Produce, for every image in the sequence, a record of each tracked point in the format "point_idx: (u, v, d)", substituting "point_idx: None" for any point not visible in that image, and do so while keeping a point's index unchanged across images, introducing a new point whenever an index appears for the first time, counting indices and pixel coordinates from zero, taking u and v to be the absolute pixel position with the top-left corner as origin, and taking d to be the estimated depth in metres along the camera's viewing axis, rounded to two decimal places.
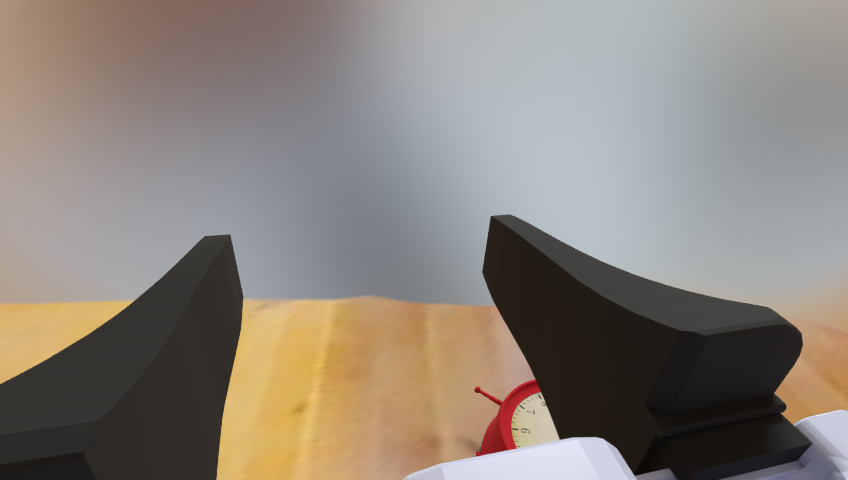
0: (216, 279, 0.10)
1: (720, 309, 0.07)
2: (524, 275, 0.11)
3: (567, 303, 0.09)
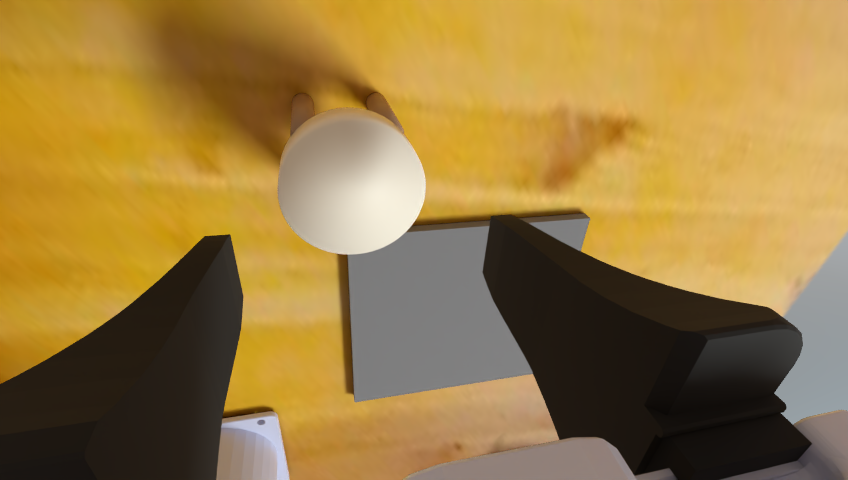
0: (216, 279, 0.10)
1: (720, 309, 0.07)
2: (524, 275, 0.11)
3: (567, 303, 0.09)
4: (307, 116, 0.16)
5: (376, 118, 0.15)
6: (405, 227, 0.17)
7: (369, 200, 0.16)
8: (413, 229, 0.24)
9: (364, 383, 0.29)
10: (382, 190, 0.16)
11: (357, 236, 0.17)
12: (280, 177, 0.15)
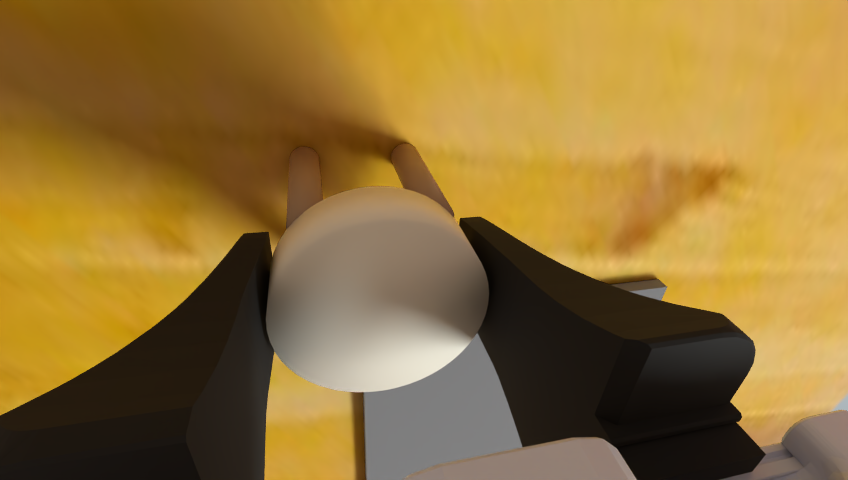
0: (260, 275, 0.10)
1: (672, 315, 0.07)
2: (489, 279, 0.11)
3: (527, 308, 0.09)
4: (311, 194, 0.11)
5: (418, 206, 0.10)
6: (454, 352, 0.12)
7: (405, 323, 0.11)
8: None
9: None
10: (425, 309, 0.11)
11: (385, 369, 0.11)
12: (270, 303, 0.09)
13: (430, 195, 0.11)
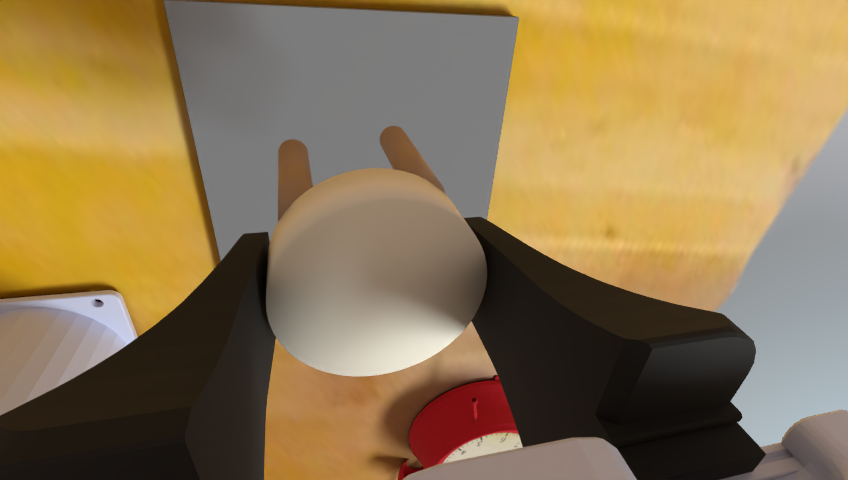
0: (260, 275, 0.10)
1: (673, 315, 0.07)
2: (490, 279, 0.11)
3: (527, 308, 0.09)
4: (300, 184, 0.11)
5: (406, 184, 0.10)
6: (459, 328, 0.12)
7: (406, 303, 0.11)
8: (266, 5, 0.17)
9: None
10: (424, 287, 0.11)
11: (392, 350, 0.11)
12: (268, 295, 0.09)
13: (419, 173, 0.11)
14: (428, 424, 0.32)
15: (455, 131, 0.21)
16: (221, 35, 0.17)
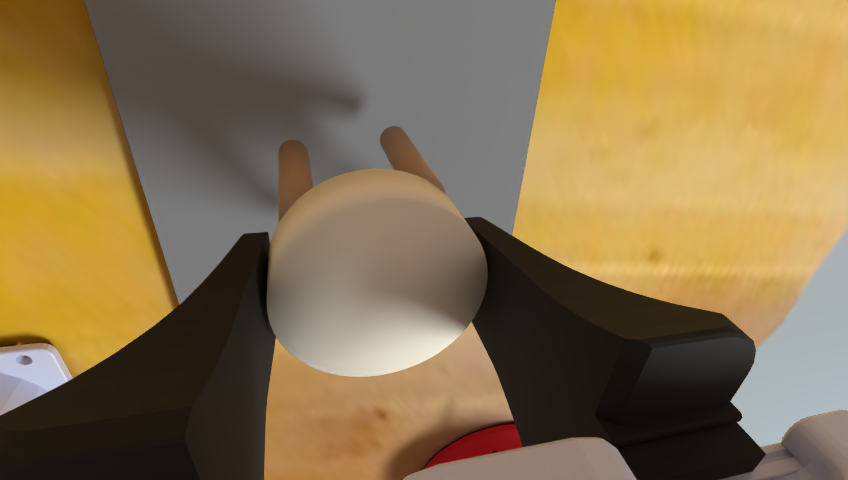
0: (260, 275, 0.10)
1: (673, 315, 0.07)
2: (489, 278, 0.11)
3: (527, 308, 0.09)
4: (301, 184, 0.11)
5: (407, 184, 0.10)
6: (460, 328, 0.12)
7: (406, 303, 0.11)
8: None
9: None
10: (424, 287, 0.11)
11: (392, 351, 0.11)
12: (269, 295, 0.09)
13: (419, 173, 0.11)
14: None
15: (472, 138, 0.17)
16: (159, 15, 0.13)
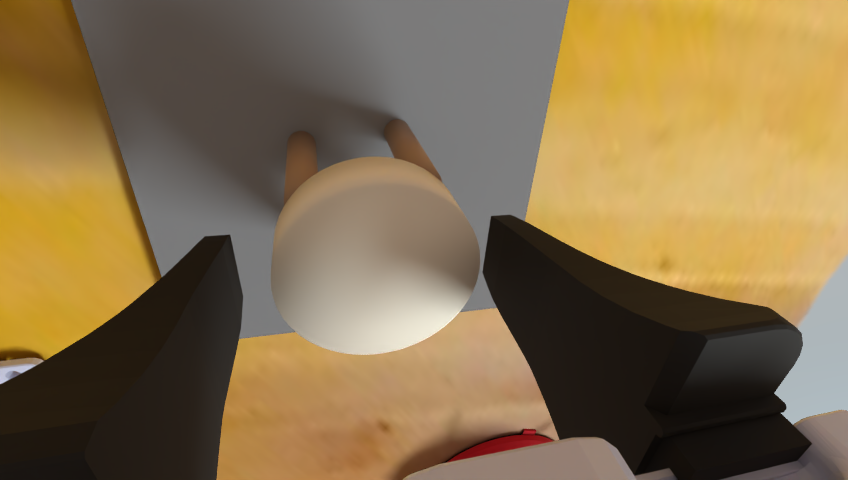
0: (216, 279, 0.10)
1: (720, 309, 0.07)
2: (524, 275, 0.11)
3: (567, 303, 0.09)
4: (306, 171, 0.12)
5: (403, 171, 0.10)
6: (454, 311, 0.12)
7: (402, 285, 0.11)
8: None
9: None
10: (419, 270, 0.11)
11: (389, 330, 0.12)
12: (273, 272, 0.10)
13: (417, 163, 0.12)
14: None
15: (480, 146, 0.16)
16: (152, 18, 0.12)
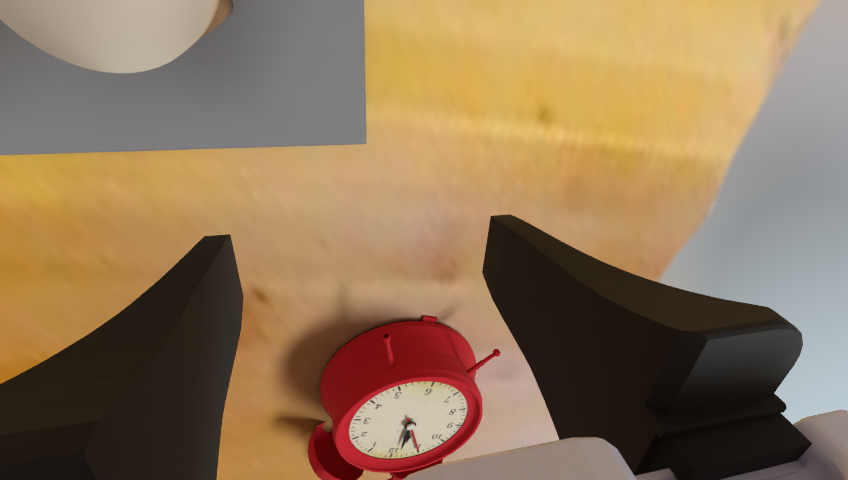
0: (216, 279, 0.10)
1: (720, 309, 0.07)
2: (524, 275, 0.11)
3: (567, 303, 0.09)
4: None
5: None
6: (197, 22, 0.11)
7: None
8: None
9: None
10: None
11: (122, 39, 0.11)
12: None
13: None
14: (338, 372, 0.26)
15: None
16: None
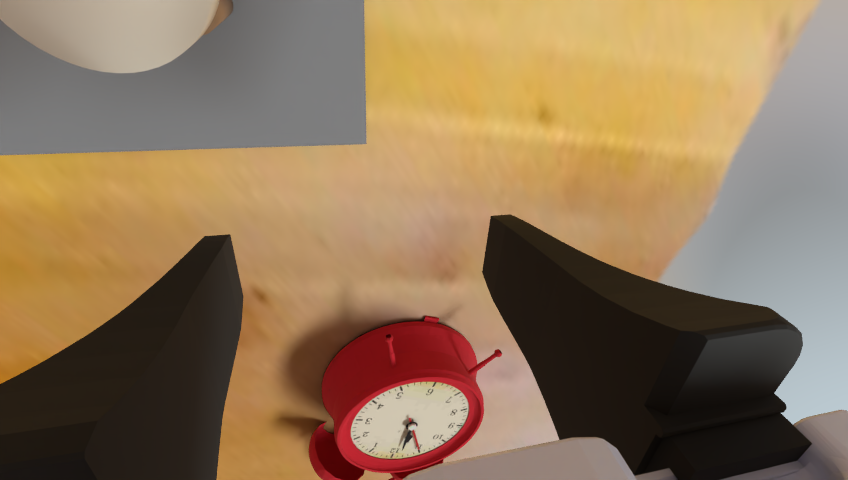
0: (216, 279, 0.10)
1: (720, 309, 0.07)
2: (524, 275, 0.11)
3: (567, 303, 0.09)
4: None
5: None
6: (197, 22, 0.11)
7: None
8: None
9: None
10: None
11: (122, 39, 0.11)
12: None
13: None
14: (340, 373, 0.26)
15: None
16: None
